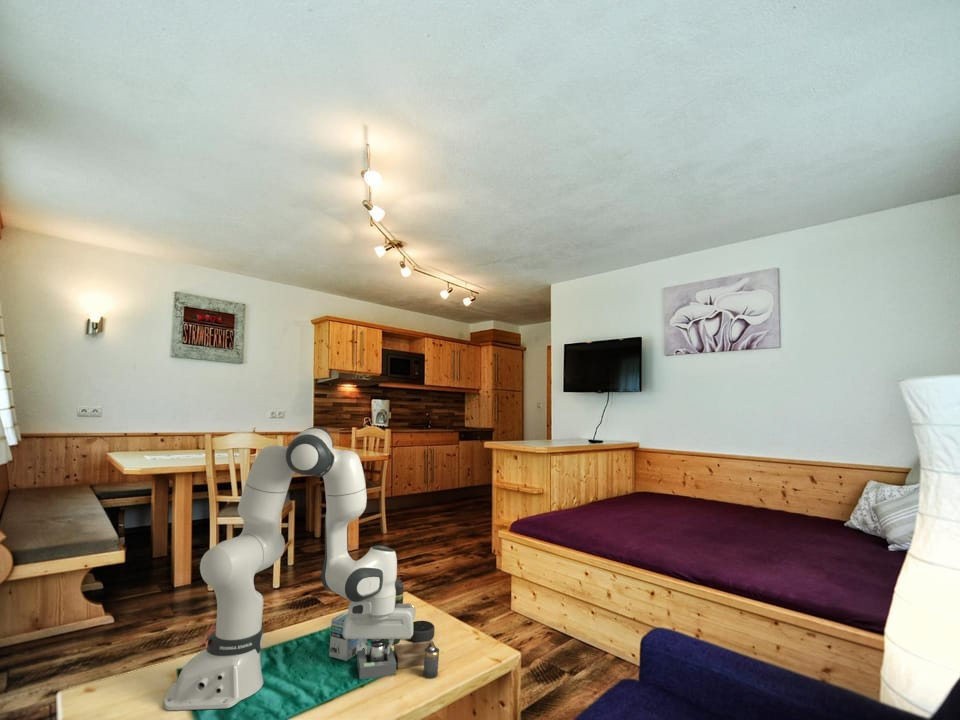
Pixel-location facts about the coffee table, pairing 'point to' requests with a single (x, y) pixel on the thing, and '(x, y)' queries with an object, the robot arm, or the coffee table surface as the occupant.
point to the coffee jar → (397, 601)
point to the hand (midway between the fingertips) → (377, 653)
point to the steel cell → (377, 650)
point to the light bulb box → (342, 640)
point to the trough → (411, 654)
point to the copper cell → (431, 662)
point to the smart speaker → (422, 631)
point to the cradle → (375, 666)
